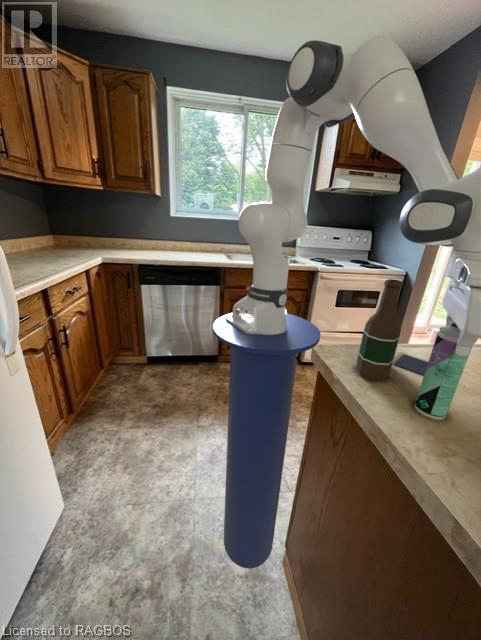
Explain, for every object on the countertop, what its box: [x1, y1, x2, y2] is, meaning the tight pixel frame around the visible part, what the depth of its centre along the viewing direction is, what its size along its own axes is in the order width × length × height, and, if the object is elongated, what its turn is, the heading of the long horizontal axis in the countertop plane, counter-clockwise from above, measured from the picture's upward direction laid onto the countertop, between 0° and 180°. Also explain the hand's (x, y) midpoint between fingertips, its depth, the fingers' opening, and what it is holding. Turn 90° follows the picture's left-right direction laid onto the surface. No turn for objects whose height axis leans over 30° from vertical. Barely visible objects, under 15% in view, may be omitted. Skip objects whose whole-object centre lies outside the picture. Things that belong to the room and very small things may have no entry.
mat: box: [393, 353, 428, 376], centre depth 74 cm, size 10×9×1 cm
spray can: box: [413, 322, 473, 421], centre depth 52 cm, size 6×6×20 cm
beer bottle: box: [355, 278, 404, 382], centre depth 65 cm, size 8×8×24 cm
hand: (454, 343), depth 50 cm, fingers open, 8 cm apart
